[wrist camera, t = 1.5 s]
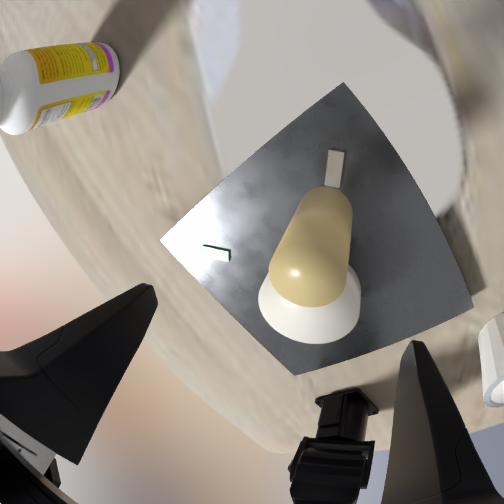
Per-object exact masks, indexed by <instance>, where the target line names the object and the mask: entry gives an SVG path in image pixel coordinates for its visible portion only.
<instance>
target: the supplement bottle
mask: <svg viewBox="0 0 504 504" xmlns="http://www.w3.org/2000/svg"><path fill="white" fill-rule="evenodd" d="M119 73H120V67H119V61H118V58H117V55H116V53H115V52H114V50H113V49H112V48H111V47H110V46H108V45H107V44H104V43H99V42H92V43H75V44H65V45H56V46H48V47H41V48H35V49H29V50H24V51H19V52H16V53H13V54H11V55H10V56H8V57H7V58H6V59H5V60H4V61H3V62H2V64H1V65H0V128H1V129H2V130H3V131H5V132H6V133H8V134H11V135H18V134H22V133H24V132H27V131H29V130H32V129H34V128H37V127H40V126H42V125H45V124H48V123H51V122H54V121H57V120H60V119H63V118H66V117H69V116H72V115H76V114H79V113H83V112H86V111H90V110H93V109H96V108H99V107H101V106H103V105H104V104H105V103H107V102H108V101H109V100H110V98H111V97H112V96H113V94H114V92H115V90H116V88H117V84H118V80H119Z"/></svg>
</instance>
